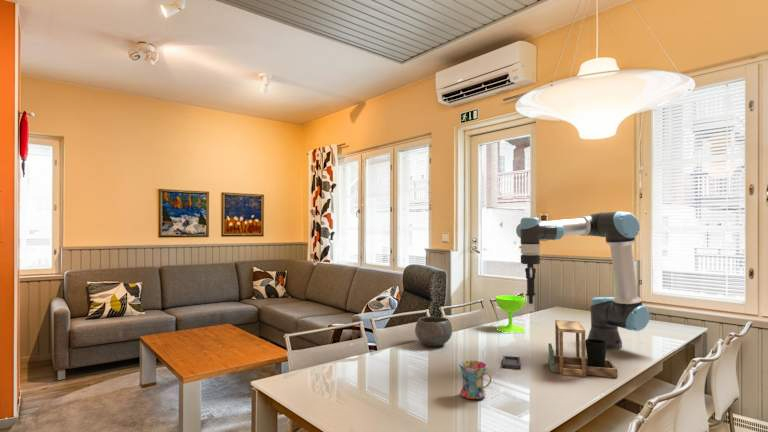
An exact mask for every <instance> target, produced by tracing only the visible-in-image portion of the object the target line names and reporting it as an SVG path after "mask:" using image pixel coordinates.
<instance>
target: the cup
mask: <svg viewBox="0 0 768 432" xmlns="http://www.w3.org/2000/svg"><path fill="white" fill-rule="evenodd" d="M606 346H607V342H606V341H603V340H599V339H587V338H585V351H586V358H587V361H588V366H592V367H604V368H605V360H606V356H607V348H606Z"/></svg>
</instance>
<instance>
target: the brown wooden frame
mask: <svg viewBox="0 0 768 432" xmlns="http://www.w3.org/2000/svg"><path fill="white" fill-rule="evenodd" d="M554 325H555V327H554V328H555V329H554V331H555V356H559V363H560V372H559V375H560V376H571V377H582V378H586V377H587V375H586V358H587V352H586V343H585V340H586V329H585V328H584V326H583V325H582V323H580V321H577V320H561V319H555V324H554ZM564 333H573V334H574V333H575V357H578V358H582V370H581V369H569V368H563V356H564ZM580 334H581V349H580ZM580 350H581V355H580ZM580 356H581V357H580Z"/></svg>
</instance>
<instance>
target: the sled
mask: <svg viewBox="0 0 768 432" xmlns="http://www.w3.org/2000/svg"><path fill="white" fill-rule="evenodd" d="M547 347H548V364H549V368H550V369H549V370H550V372H552V373H553V372H556V373H560V363H559V356H556V355H555V351H554V348H553V345H552V343H550V342H549V343H548V346H547ZM563 368H569V369H581V370H582V357H580V358H578V357H576V356H575V357H573V356H564V355H563ZM618 371H619V370H618V368H617V367H616V365H615V364H614V363H613V362H612V360H611V359H605V368H604V367H592V366H588V361H587V357H586V376H599V377H608V378H618V377H619V376H618V375H619V373H618Z"/></svg>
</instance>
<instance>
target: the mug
mask: <svg viewBox="0 0 768 432" xmlns="http://www.w3.org/2000/svg"><path fill="white" fill-rule="evenodd" d="M458 365H459V368H460V370H461V375H462V388H461V391H460V394H461V396H462V397H463V398H466V399H469V400H482V399H484V398H486V396H487V393H486V390H485V388H487V387H489V385H490V384H491V382H492V380H493V379H492V377H493V376H492V375H491V374H490V373H489V372H486V370H487V368H488V365H487V364H486V363H485V362H482V361H478V360H463V361H461V362H459V363H458ZM485 375H487V376H488V377H489V380H488V383H487V384H486V385H484V380H485V379H484V377H485Z"/></svg>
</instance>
